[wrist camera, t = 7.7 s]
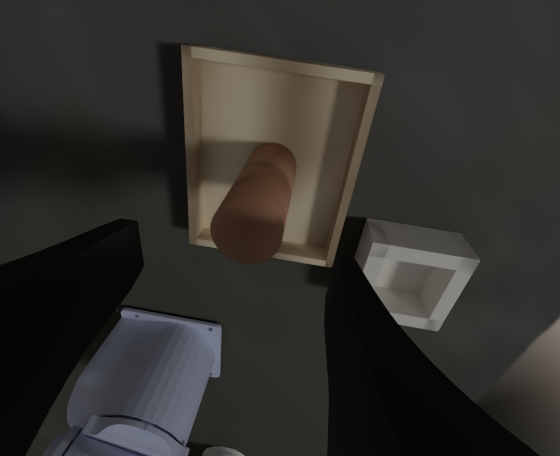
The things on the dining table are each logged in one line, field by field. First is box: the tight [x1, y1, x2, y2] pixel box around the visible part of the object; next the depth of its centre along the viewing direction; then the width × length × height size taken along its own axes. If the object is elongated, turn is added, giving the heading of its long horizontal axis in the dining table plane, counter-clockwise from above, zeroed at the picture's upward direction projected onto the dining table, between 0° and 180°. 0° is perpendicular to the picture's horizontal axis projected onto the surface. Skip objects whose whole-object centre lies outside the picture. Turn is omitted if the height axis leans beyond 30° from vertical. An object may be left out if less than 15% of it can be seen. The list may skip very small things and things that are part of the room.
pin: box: [210, 142, 297, 264], centre depth 16 cm, size 3×3×8 cm
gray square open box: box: [354, 218, 480, 331], centre depth 21 cm, size 6×6×3 cm
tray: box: [181, 44, 385, 268], centre depth 19 cm, size 10×12×2 cm
